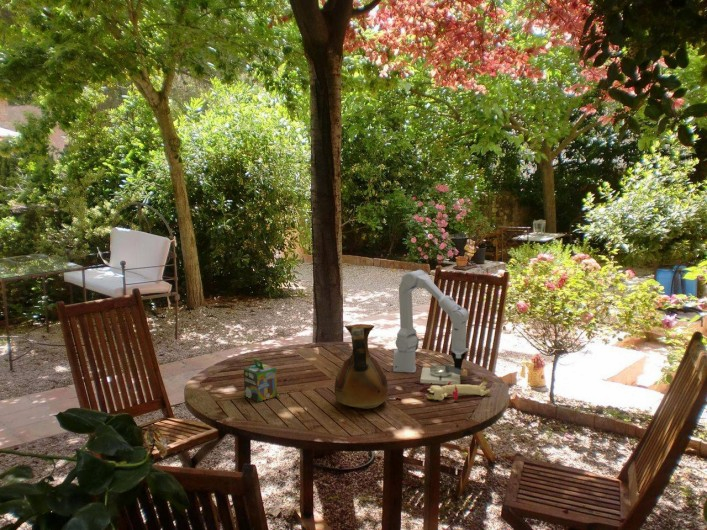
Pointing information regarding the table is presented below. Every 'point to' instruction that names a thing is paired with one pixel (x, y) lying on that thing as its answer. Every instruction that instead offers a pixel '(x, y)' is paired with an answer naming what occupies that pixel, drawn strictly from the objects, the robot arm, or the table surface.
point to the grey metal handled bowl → (447, 371)
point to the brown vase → (361, 373)
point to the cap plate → (438, 378)
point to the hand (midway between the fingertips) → (457, 370)
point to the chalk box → (260, 381)
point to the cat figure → (457, 390)
